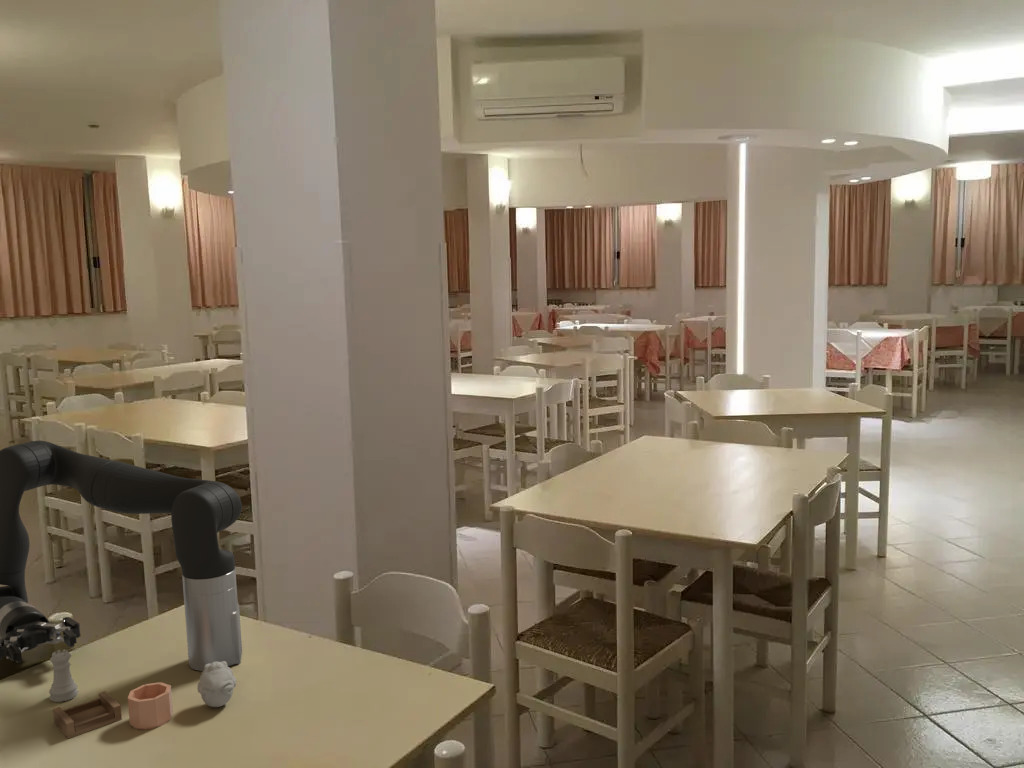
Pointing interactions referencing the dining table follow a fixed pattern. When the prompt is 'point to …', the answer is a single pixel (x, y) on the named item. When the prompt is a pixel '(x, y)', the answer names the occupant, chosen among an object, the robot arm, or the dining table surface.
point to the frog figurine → (216, 684)
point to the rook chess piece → (62, 678)
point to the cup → (150, 705)
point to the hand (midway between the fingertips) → (46, 649)
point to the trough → (87, 715)
